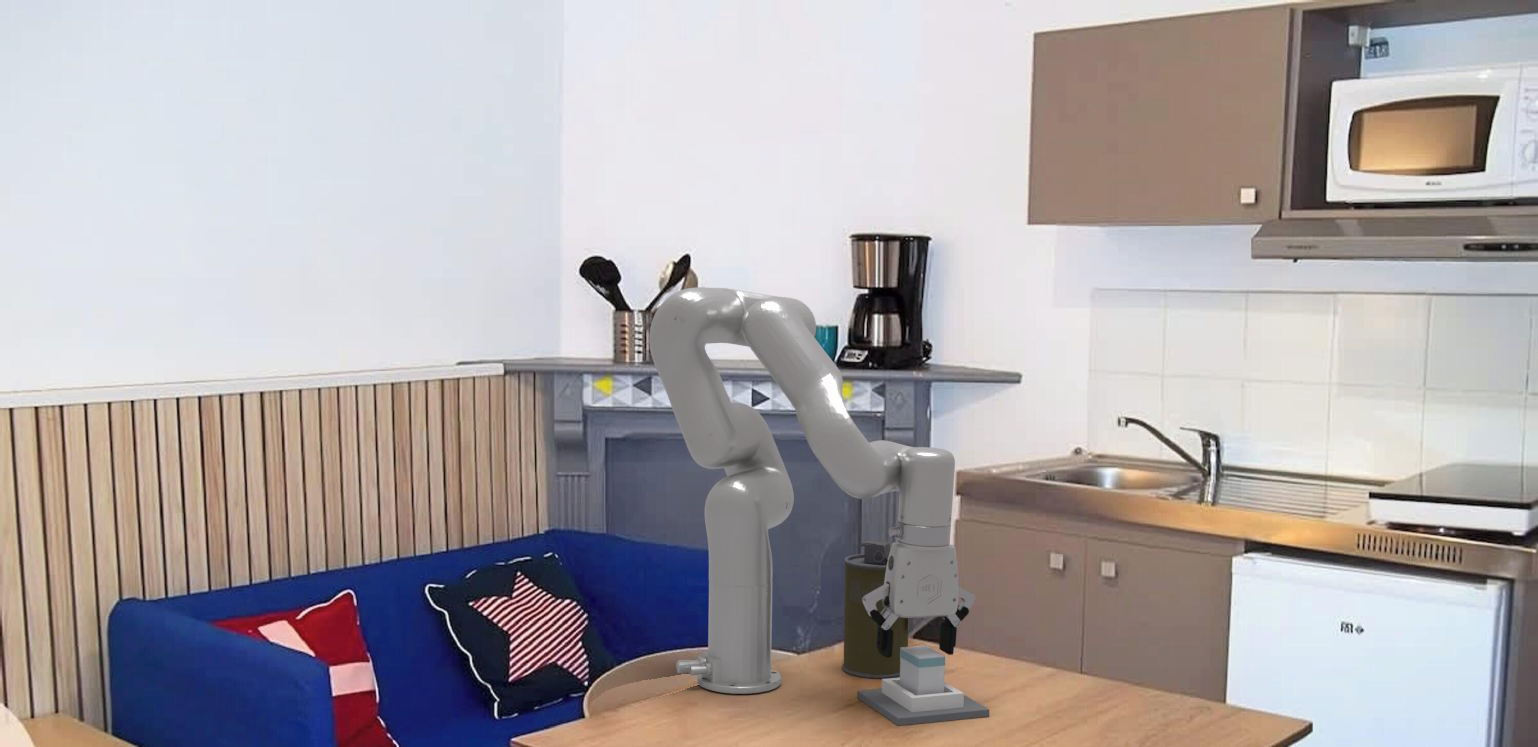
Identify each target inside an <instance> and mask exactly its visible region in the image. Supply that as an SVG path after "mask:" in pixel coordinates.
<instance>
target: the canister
mask: <svg viewBox="0 0 1538 747" xmlns="http://www.w3.org/2000/svg"><path fill="white" fill-rule="evenodd" d="M859 547H860V548H861V547H862V548H863V547H864V548H863V550H864V552H863V553H859V554H853V555H852V554H851V555H847V556H846V557H844V560H843V562H844V608H843V609H844V611H843V612H844V613H843V615H844V618H843V623H844V624H843V664H842V665H841V668H842V671H843V672H845V673H846V674H848V675H852V676H855V677H859V678H867V679H881V680H882V679H889V678H899V677H900V649H901V647H909V633H911V632H912V631H913V629H914V618H902V617H898V618H897V619H896V621H895V622H894V623H893V624H892V626H891V627H890V629H891V630H893V647H892V656H891V657H890V658H886V657H885V656H883V655H882V654H880V653H879V651H878V649H877V631H878V626H877V625H876V624H875V622H874V621H873V620H872V619H871V618H870V617H869V615H868V614H867V610H866V608H865V606H864V604H863V601H862V598H863V596H865V595H867V594H868V593H870V592H872V591H874V590H875V589H877V588H879V587H881V586H883V585H884V580H885V573H886V567H887V562H888V557H889V554H890V550H891V543H890V542H889V541H875V540H866V541H864V542H862V543H861V544H859ZM876 607H877V610H878V612H879V613H880V612H881V611H882V610H883V609H884V607H883V599H881V600H879V601H877V602H876Z"/></svg>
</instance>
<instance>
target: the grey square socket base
mask: <svg viewBox="0 0 1538 747" xmlns="http://www.w3.org/2000/svg"><path fill="white" fill-rule="evenodd" d="M856 698H857V699H858V700H860V701H862V702H863V703H864V704H866V705H867V706H869V707H870V708H872V709H873V710H875V711H876V712H877V713H879V714H881V715H882V716H884V717H885V718H886V719H888V720H889V721H891V722H892V723H894V724H895V725H896V726H909V725H918V724H929V723H939V722H947V721H948V722H949V721H958V720H959V721H960V720H968V719H979V718H987V717H989V718H990V709H989V708H987V706H984V705H982V704H980V703H979V702H977V701H975V699H974V700H973V699H972V698H970V697H969V696H967V695H965V693H964V692H962V691H961V690H959V689H958V688H957V687H956V688H955V687H953V685H950V684H948V683H947V682H945V681H944V693H937V694H926V695H916V696H915V695H914V694H912V693H911V692H909V691H907V690H906V689H904V688H903V687H901V686H900V677H895V678H884V679H881V688H872V689H861V690H856Z"/></svg>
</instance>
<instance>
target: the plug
mask: <svg viewBox="0 0 1538 747" xmlns="http://www.w3.org/2000/svg"><path fill="white" fill-rule="evenodd" d="M945 666H946V655H945V654H942V653H940V652H939V651H937V650H935V649H933V648H932V647H930V646H928V645H915V646H914V645H913V646H908V647H901V649H900V676H899V678H900V686H901V687H903V688H904V689H906V690H907V691H909V692H911V693H912V694H914V695H915V696H916V695H926V694H937V693H944V682H945Z"/></svg>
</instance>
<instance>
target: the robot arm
mask: <svg viewBox="0 0 1538 747" xmlns="http://www.w3.org/2000/svg"><path fill="white" fill-rule="evenodd" d="M816 331H817V322H816V318H815V316H814V313H813V312H812V310H811V309H810V307H809V306H807V304H805V303H804V302H803V301H801V300H799V299H797V298H793V297H786V296H785V297H784V296H778V295H777V296H776V295H769V294H763V293H757V292H751V291H744V290H738V289H733V288H725V287H724V288H723V287H689V288H684V289H680V290H678V291H676V292H673V293H672V294H671V295H669V296H668V297H667V298H666V299H665V300H664V301H663V302H662V303H661V304H660V305H659V307H658V309H657V310H656V312H655V314H654V316H653V318H652V321H651V323H650V328H649V335H648V336H649V337H648V338H649V339H648V340H649V342H648V343H649V349H650V350H649V351H650V355H651V358H652V362H653V364H654V367H655V369H656V372H657V374H658V376H659V378H660V381H661V383H662V385H663V388H664V390H665V392H666V395H667V398H668V400H669V403H670V404H669V405H670V406H671V409H672V412H673V414H674V417H675V419H676V421H677V425H678V427H679V429H680V431H681V434H682V436H683V439H684V442H685V445H686V448H687V450H688V452H689V453H690V454H689V455H690V456H691V458H692V459H693V461H694V462H695V464H697V465H698V466H700V467H702V468H705V469H706V470H707V469H708V470H718V469H724V472H725V474H726V476H725V477H723V478H722V479H720V480H719V481H717V482H716V483H715V484H714V485H713V486H712V488H711V489H710V490H709V492H708V494H707V497H706V499H705V503H704V504H705V505H704V523H705V530H706V537H707V545H708V546H707V548H708V629H707V630H708V637H707V638H708V639H707V644H708V645H707V646H708V647H707V650H703V651H702V652H701V654H702V655H701V656H697V657H696V659H689V658H688V659H678V660H677V661H676V664H675V665H676V666H675V667H676V672H677V674H685V673H687V674H688V673H689V676H697V678H696V679H697V684H698V685H699V686H700V687H701V688H703V689H705V690H708V691H710V692H711V691H712V692H715V693H716V692H717V693H723V694H735V695H737V694H740V695H746V694H749V695H750V694H759V693H765V692H768V691H772V690H776V689H777V688H778V687H779V686H781V685H782V675H781V673H780V672H778V670H777V671H776V670H775V669H772V638H773V637H772V635H773V634H772V631H773V630H772V628H773V627H772V626H773V556H772V555H773V553H772V549H771V544H770V538H769V537H770V536H769V530H771V529H772V528H775V527H777V526H779V525H781V524H782V523H784V521H786V520H787V518H788V517H789V515H791V512H792V510H793V506H794V504H795V503H794V502H795V500H794V499H795V496H794V489H793V488H794V487H793V485H792V482H791V479H790V476H789V473H788V471H787V468H786V466H785V463H784V461H783V459H782V457H781V454H780V451H779V449H778V446H777V444H776V442H775V439H774V436H773V434H772V431H771V429H770V426H769V425H768V423H767V421H766V419H764V417H763V416H762V415H761V413H759V412H758V411H757V410H756V409H755V408H754V407H752V406H750V405H748V404H745V403H743V402H732V401H731V398H730V396H729V394H728V392H727V390H726V388H725V385H724V382H723V379H722V377H721V375H720V373H719V370H718V369H717V367H716V365H715V364H714V362H713V361H712V359H711V358H710V356H709V355H708V353H707V351H706V345H710V344H728V345H729V344H730V345H737V346H742V347H747V348H750V350H751V351H752V352H753V354H754V355H755V356H756V358H757V359H758V360H759V362H760V363H761V364H762V366H763V368H765V370H766V371H767V372H768V373H769V375H770V376H771V378H772V379H773V380H774V382H775V383H776V384H777V386H779V389H780V390H781V392H783V394H784V395H785V397H786V398H787V399H788V401H789V403H790V404H791V405H792V407H793V408H794V411H795V414H796V417H797V420H798V423H799V425H800V428H801V430H802V433H803V435H804V437H805V439H806V443H807V444H808V446H809V448H810V449H811V451H812V452H813V454H814V456H815V457H816V459H817V460H818V462H819V463H820V464H821V465H822V467H823V468H824V470H825V471H826V473H827V474H828V475H829V476H830V477H831V479H832V480H833V481H834V482H835V483H836V485H837V486H838V487H839V488H840V489H841V490H842V491H843V492H845V493H846V494H847V495H849V496H850V497H852V498H856V499H858V500H859V499H860V500H869V499H872V498H875V497H878V496H880V495H882V494H887V493H892V492H899V494H898V495H899V496H898V512H897V520H896V526H894V527H892V526H891V527H889V528H888V535H889V537H890V538H895V540H896V541H895V542H892V544H891V546H890V549H891V550H890V554H889V557H888V562H887V567H886V573H885V580H884V585H883V586H881V587H879V588H877V589H875V590H874V591H872V592H870V593H868V594H867V595H865V596H863V598H862V601H863V604H864V606H865V608H866V610H867V614H868V615H869V617H870V618H871V619H872V620H873V621H874V622H875V624H876V625H877V626H878V631H877V649H878V651H879V653H880V654H882V655H883V656H885V657H886V658H890V657H891V656H892V647H893V630H891V629H890V627H891V626H892V624H893V623H894V622H895V621H896V619H897V618H898V617H902V618H913V619H914V618H916V619H917V618H920V619H922V618H941V617H942V618H943V620H944V621H942V622H941V624H940V631H939V632H940V633H939V643H938V644H939V650H940V651H941V652H943V653H945V654H947V655H949V656H950V655H951V656H953V655H954V653H955V652H954V648H955V647H956V644H957V643H956V642H957V633H958V632H957V630H958V628H959V627H960V626H961V623H962V621H963V620H964V619H965V618H966V617H967V616H968V615H969V614H970V609H971V608H972V606H973V604H974V602H975V600H976V595H975V594H973V593H971V592H970V591H968V590H966V589H964V588H963V587H961V586H959V569H958V568H959V567H958V565H959V564H958V559H957V558H958V557H957V550H956V546H955V545H953V544H950V543H951V529H952V528H951V527H952V515H953V514H952V513H953V512H952V511H953V503H954V502H953V501H954V487H955V486H954V485H955V484H954V482H955V472H956V471H955V470H956V469H955V468H956V467H955V466H956V460H955V456H954V454H953V453H952V452H951V451H949V450H947V449H944V448H943V449H942V448H937V447H929V446H928V447H927V446H926V447H925V446H917V447H915V446H910V445H905V444H902V443H898V442H894V441H890V440H881V439H879V440H874V441H870V442H869V441H868V440H867V439H866V437H865V436H864V434H863V433H862V432H861V430H860V429H859V428H858V426H857V425H856V423H855V422H854V420H853V419H852V417H851V416H850V413H849V412H848V409H847V407H846V405H845V402H844V397H843V385H844V384H843V383H844V380H843V375H842V372H841V370H840V369H839V368H838V367H837V365H836V364H835V362H834V361H833V360H832V358H831V357H830V356H829V355H828V353H827V352H826V351H825V350H824V348H823V346H821V344H820V343H819V342H818V340H817V339H816V337H815V336H816V333H817V332H816ZM959 597H960V601H959ZM881 599H883V607H884V609H883V610H882V611H881V612H880V613H879V612H878V610H877V607H876V602H877V601H879V600H881ZM959 602H960V603H959Z"/></svg>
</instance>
